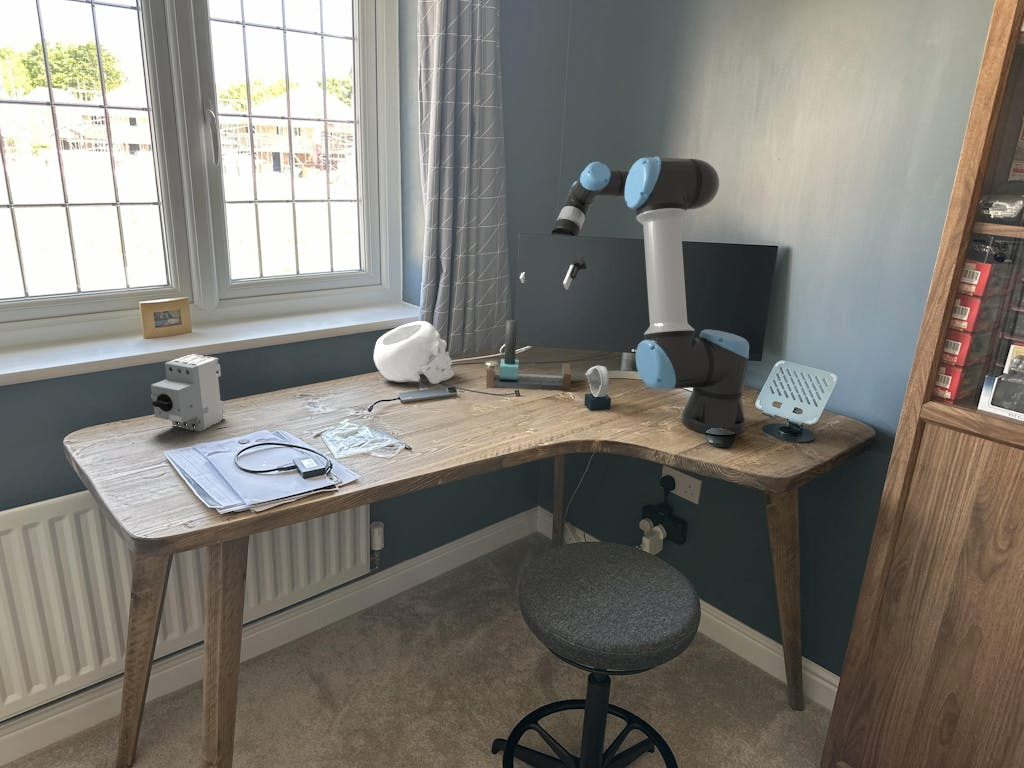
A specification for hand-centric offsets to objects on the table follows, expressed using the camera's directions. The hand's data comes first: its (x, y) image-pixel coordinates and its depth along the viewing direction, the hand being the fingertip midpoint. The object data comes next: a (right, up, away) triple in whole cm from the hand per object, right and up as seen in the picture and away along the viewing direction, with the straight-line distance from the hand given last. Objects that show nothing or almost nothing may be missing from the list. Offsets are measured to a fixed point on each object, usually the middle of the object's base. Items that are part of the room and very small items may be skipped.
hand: (543, 283), depth 198 cm
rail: (-4, -28, 0) cm, 29 cm away
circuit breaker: (-82, -38, -40) cm, 98 cm away
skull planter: (-36, -27, -2) cm, 45 cm away
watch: (+13, -34, -16) cm, 40 cm away
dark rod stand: (-10, -26, -1) cm, 28 cm away
